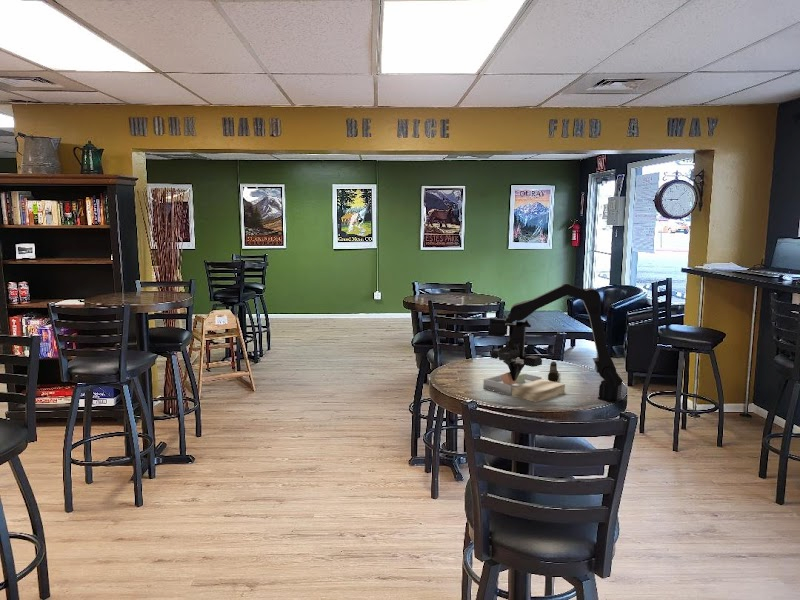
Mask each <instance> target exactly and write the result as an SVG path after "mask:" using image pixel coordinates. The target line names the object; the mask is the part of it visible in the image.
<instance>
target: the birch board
mask: <svg viewBox="0 0 800 600" xmlns="http://www.w3.org/2000/svg"><path fill="white" fill-rule="evenodd" d="M565 389H566V384H564V383H561V382H558V381H556V382H553V381H549V380H548V379H543V378H542V379H539V380H535V381H532V382H528V383H525V384H521V385H518V386H515V387H512V397H515V398H520V399H523V400H527V401H531V402H534V403H537V402H541V401H543V400H546V399H549V398H552V397H554V396H555V397H556V396H558V395H561V394H564V393H565V391H566V390H565ZM540 400H541V401H540Z"/></svg>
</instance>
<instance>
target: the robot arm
mask: <svg viewBox="0 0 800 600" xmlns="http://www.w3.org/2000/svg"><path fill="white" fill-rule="evenodd" d="M566 296H569V297H572V298H574V299H578V300H581V301H582V303H583V305H584V307H585V309H586V312H587V315H588V318H589V322H590V326H591V332H592V336H593V340H594V346H595V350H596V357H592V359H593V360H592V361H593V362H594V370H595V371H596V373H597V374H599V376H600V378H602V380H600V384H599V385H598V387H599V389H598V396H597V399H598V400H602V401H607V402H611V403H613V404H614V403H615V404H616V403H618V402H620V401H623V400H624V399H623V397H622V388H623V379H622V377H621V376H620V375H619V373H618V372H617V368H616V366H615V362H614V361H613V359H612V357H611V355H610V353H609V352H610V351H609V348H608V344H607V340H606V339H607V338H606V334H605V329H604V325H603V320H602V315H601V310H602V309H601V307H602V305H601V302H602V301H601V294H600V292H599V291H598V290H596V289H595V288H594V287H593V288H592V287H588V288H584V287H580V286H576V285H573V284H570V282H569V283H568V282H565V283H562V284H561V285H560V286H558V287H555V288H553V289H551V290H550V291H547V292H545V293H543V294H541V295H538V296H537V297H534V298H532V299H528V300H523V301H520V302H516V303H514V304H513V305H512V306H511V308H510V312H509V313H508V314H507V316H505V318H495V317H489V324H488V330H487V331H488V332H487V333H488V334H487V335H488V337H492V338H493V337H494V338H504V337H506V336H508V340H506V341H505V345H504V346H503V347H501V348H495V349H492V350H491V351H490V359H496V360H497V359H498V361H503V363H504V364H506V365H507V367H508V369H509V372H510V373H511V376H512V380H513V381H516V379H517V377H518V376H519V374H520V372H521V373H522V370H523V369H524V367H525V366H527V367H532V368H534V367H538V366H542V365H543V359H542V358H541V356H536V355H529V356H527V352H525V345H527V344H528V342H527V341H526V328H531V327H532V324H531V323H530V322H529V321H528V319H526V318H527V317H529V316H530V315H532V314H533V313H534V312H535V311H537V310H538V309H540V308H543V307H544V306H546V305H549V304H552V303H553V302H555V301H557V300H560V299H561V298H564V297H566ZM523 320H524V321H523ZM514 322H516V323H514Z"/></svg>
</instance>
